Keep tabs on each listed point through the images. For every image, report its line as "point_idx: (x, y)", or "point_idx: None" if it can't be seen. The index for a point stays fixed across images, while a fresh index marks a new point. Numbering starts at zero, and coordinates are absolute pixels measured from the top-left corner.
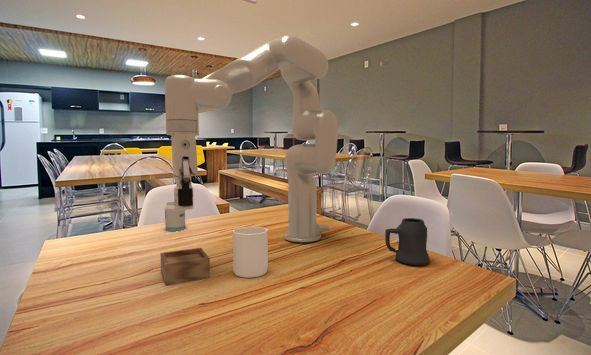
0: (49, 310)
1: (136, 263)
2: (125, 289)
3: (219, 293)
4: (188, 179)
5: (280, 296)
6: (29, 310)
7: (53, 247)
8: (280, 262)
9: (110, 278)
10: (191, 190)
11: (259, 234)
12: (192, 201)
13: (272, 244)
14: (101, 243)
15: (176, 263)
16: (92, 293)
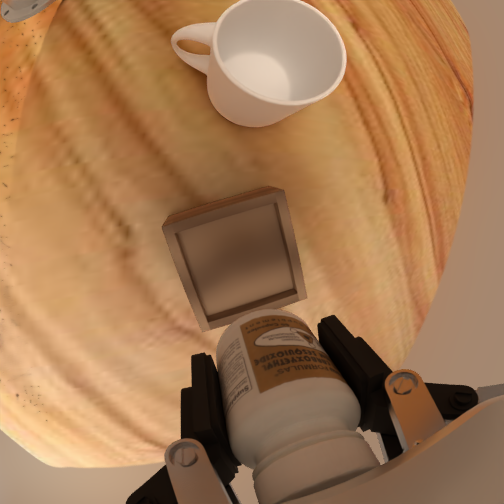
0: None
1: (138, 365)
2: None
3: (356, 167)
4: (493, 388)
5: (384, 71)
6: None
7: (75, 464)
8: (192, 16)
9: None
10: (378, 367)
11: (336, 32)
12: (295, 330)
13: (33, 46)
14: (37, 424)
15: (302, 273)
16: None
